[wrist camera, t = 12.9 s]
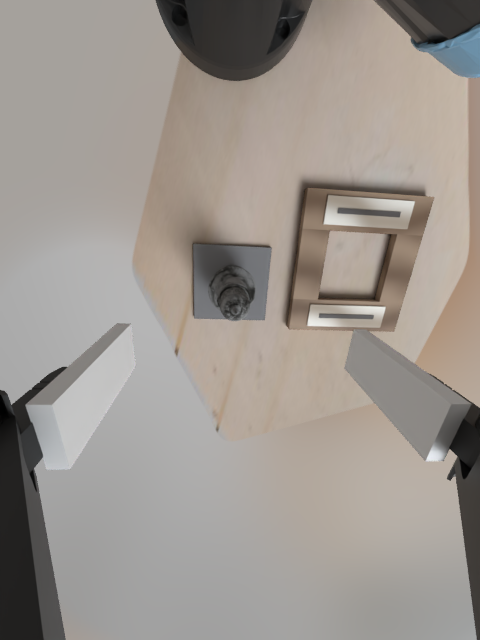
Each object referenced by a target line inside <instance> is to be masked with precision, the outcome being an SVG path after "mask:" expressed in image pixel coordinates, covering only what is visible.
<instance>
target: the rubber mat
mask: <svg viewBox="0 0 480 640" xmlns="http://www.w3.org/2000/svg"><path fill="white" fill-rule="evenodd" d="M270 259H271V248H268V247H249V246H229V245H210V244H193V260H194V318H196V319H226V318H225V317H224V316H223V314H222V313H221V311H220V310H219V309H217V308H216V307H215V306H214V305H213V304H212V302H211V300H210V298H209V294H208V286H209V283H210V280H211V278H212V277H213V275H214V274H215V273H216V272H217V271H218V270H219V269H220V268H222V267H224V266H227V265H236V266H239V267H241V268H243V269H245V270H246V271H248V272H249V273H250V274H251V275H252V277H253V278H254V280H255V283H256V288H257V291H256V297H255V299H254V302H253V303H252V304H251V306H250V310H249V313H248V315H247V316H246V317H245V318H244V319H242V320H265V311H266V301H267V290H268V280H269V269H270Z"/></svg>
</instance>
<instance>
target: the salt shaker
mask: <svg viewBox="0 0 480 640" xmlns="http://www.w3.org/2000/svg"><path fill="white" fill-rule="evenodd" d="M256 291H257V288H256V283H255V280H254V278H253V277H252V275H251V274H250V273H249V272H248V271H246V270H245V269H243V268H241V267H239V266H236V265H227V266H224V267H222V268H220V269H219V270H218V271H217V272H216V273H215V274H214V275H213V277H212V278H211V280H210V283H209V286H208V294H209V298H210V300H211V302H212V304H213V305H214V306H215V307H216V308H217V309H219V310H220V311H221V313H222V314H223V316H224V317H225V318H226V319H228V320H231V321H239V320H242V319H244V318H245V317H246V316H247V315H248V313H249V310H250V306H251V304H252V303H253V302H254V299H255V297H256Z"/></svg>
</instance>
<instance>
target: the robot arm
mask: <svg viewBox="0 0 480 640" xmlns="http://www.w3.org/2000/svg"><path fill="white" fill-rule="evenodd" d="M374 1H375V2H376V3H377V4H378V5H379V6H380V7H381V8H382V9H383V10H384V11H385V12H386V13H387V14H388V15H389V16H390V17H391V18H392V19H394V20H395V21H396V22H397V23H398V24H399V25H400V26H401V27H402V28H403V29H404V30H405V31H406V32H407V33H408V34H409V35H410V36H411V43H412V44H413V46H414V47H415V48H416V49H418V50H419V51H422V52H428V53H429V54H431V55H432V56H433V57H434V58H436V59H437V60H438V61H439V62H441V63H442V64H443V65H445V66H446V67H447V68H448V69H450V70H451V71H452V72H453V73H455V74H457V75H459V76H462V77H467V78H478V77H480V0H374ZM311 2H312V0H156V3H157V6H158V9H159V12H160V15H161V17H162V20H163V22H164V24H165V26H166V28H167V30H168V32H169V34H170V35H171V37H172V39H173V40H174V42H175V44H176V45H177V46H178V48H179V49H180V50H181V51H182V53H183V54H184V55H185V56H186V57H187V58H188V59H189V60H190V61H191V62H192V63H193V64H194V65H196V66H197V67H198V68H200V69H201V70H203V71H204V72H206V73H208V74H210V75H212V76H214V77H217V78H220V79H224V80H231V81H241V80H248V79H252V78H255V77H258V76H260V75H262V74H264V73H266V72H267V71H269V70H270V69H272V68H273V67H274V66H275V65H277V64H278V63H279V62H280V61H281V60H282V59H283V58H284V56H285V55H286V54H287V53H288V51H289V50H290V49H291V47H292V46H293V44H294V42H295V41H296V39H297V37H298V35H299V33H300V31H301V28H302V26H303V23H304V21H305V18H306V16H307V13H308V10H309V8H310V5H311ZM135 367H136V362H135V354H134V345H133V336H132V328H131V324H119V323H117V324H116V325H115V326H114V327H112V328H111V329H110V330H109V331H108V332H107V333H106V334H105V335H103V336H102V337H101V338H100V339H99V340H98V341H97V342H95V343H94V344H93V345H92V346H91V347H90V348H89V349H88V350H87V351H85V352H84V353H83V354H82V355H81V356H80V357H79V358H77V359H76V360H75V361H74V362H73V363H72V364H71V365H70V366H69V367H61V368H59V369H57V370H55V371H54V372H52V373H50V374H49V375H47V376H46V377H45V378H44V379H42V380H41V381H40V383H38V384H36V385H35V386H34V387H33V388H32V390H29V391H28V392H27V393H25V395H23V396H22V397H21V398H20V399H18V400H17V401H16V402H15V403H13V404H12V405H11V403H10V400H9V397H8V395H7V393H6V392H5V391H1V390H0V640H65V633H64V628H63V623H62V617H61V612H60V605H59V600H58V594H57V589H56V583H55V578H54V572H53V566H52V562H51V555H50V550H49V544H48V539H47V533H46V528H45V522H44V517H43V511H42V505H41V500H40V494H39V488H38V483H37V477H36V473H35V471H34V467H35V466H36V465H37V464H38V462H39V461H40V460H41V459H42V457H43V460H44V463H45V466H46V470H64V469H71V467H72V466H73V464H74V463H75V461H76V459H77V458H78V456H79V455H80V453H81V452H82V450H83V448H84V447H85V445H86V444H87V442H88V441H89V439H90V437H91V436H92V434H93V433H94V431H95V430H96V428H97V426H98V425H99V423H100V422H101V420H102V419H103V417H104V415H105V414H106V412H107V411H108V409H109V408H110V406H111V404H112V403H113V401H114V400H115V398H116V397H117V395H118V393H119V392H120V390H121V389H122V387H123V386H124V384H125V382H126V381H127V379H128V378H129V376H130V374H131V373H132V372H133V370H134V368H135ZM345 370H346V371H347V372H348V373H349V374H350V375H351V376H352V378H353V379H354V380H355V381H356V382H357V383H358V384H359V386H360V387H361V388H362V389H363V390H364V391H365V393H366V394H367V395H368V396H369V397H370V398H371V399H372V401H373V402H374V403H375V404H376V405H377V406H378V407H379V409H380V410H381V411H382V412H383V413H384V414H385V415H386V417H387V418H388V419H389V420H390V421H391V422H392V424H393V425H394V426H395V427H396V428H397V429H398V430H399V432H400V433H401V434H402V435H403V436H404V437H405V438H406V440H407V441H408V442H409V443H410V444H411V445H412V447H413V448H414V449H415V450H416V451H417V452H418V453H419V455H420V456H421V457H422V458H423V459H424V460H425V461H444V459H445V457H446V455H447V453H448V451H449V449H451V450H452V451H453V452H454V453H455V454H456V455H457V456H458V457H457V459H456V461H455V463H454V465H453V467H452V469H451V470H450V473H449V474H448V477H447V479H448V480H451V479H452V477H454V476H456V483H457V490H458V497H459V505H460V513H461V520H462V527H463V536H464V543H465V551H466V558H467V565H468V574H469V581H470V589H471V597H472V605H473V613H474V620H475V628H476V635H477V640H480V408H479V407H478V406H476V405H475V404H473V403H472V402H470V401H469V400H467V399H466V398H465V397H463V396H462V395H460V394H459V393H457V392H456V391H454V390H452V388H450V387H449V386H447V385H446V384H444V383H443V382H442V381H440V380H439V379H437V378H436V377H434V376H432V375H431V374H429V373H427V372H425V371H424V370H422V369H421V368H420V367H418V366H417V365H416V364H414V363H413V362H411V361H410V360H408V359H407V358H406V357H404V356H403V355H401V354H400V353H398V352H397V351H396V350H394V349H393V348H391V347H390V346H389V345H387V344H386V343H384V342H383V341H381V340H380V339H379V338H377V337H376V336H374V335H373V334H371V333H370V332H369V331H367V330H364V329H354V331H353V335H352V339H351V343H350V347H349V352H348V356H347V360H346V364H345Z"/></svg>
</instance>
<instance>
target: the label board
mask: <svg viewBox="0 0 480 640" xmlns="http://www.w3.org/2000/svg"><path fill="white" fill-rule="evenodd" d="M433 200H434V197H427V196H413V195H400V194H387V193H373V192H360V191H346V190H333V189H319V188H306V189H305V191H304V199H303V207H302V214H301V222H300V230H299V237H298V245H297V253H296V260H295V268H294V276H293V284H292V291H291V299H290V307H289V314H288V322H287V327H288V328H289V329H297V330H342V331H354V329H364V330H367V331H387V332H394V330H395V327H396V324H397V320H398V317H399V314H400V310H401V307H402V304H403V300H404V297H405V293H406V290H407V287H408V283H409V280H410V277H411V273H412V270H413V267H414V263H415V260H416V257H417V253H418V250H419V247H420V243H421V240H422V237H423V233H424V230H425V227H426V223H427V220H428V217H429V213H430V210H431V207H432V203H433ZM330 231H346V232H363V233H380V234H391V237H390V241H389V245H388V249H387V253H386V256H385V260H384V264H383V268H382V272H381V276H380V280H379V284H378V288H377V292H376V295H375V299H374V300H372V299H343V298H318V296H319V290H320V285H321V279H322V273H323V267H324V261H325V255H326V250H327V244H328V238H329V232H330Z"/></svg>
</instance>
